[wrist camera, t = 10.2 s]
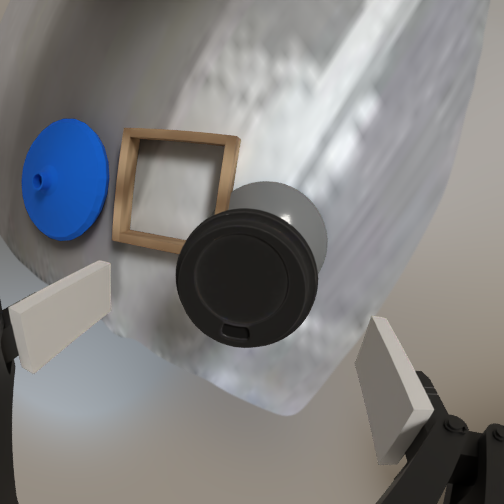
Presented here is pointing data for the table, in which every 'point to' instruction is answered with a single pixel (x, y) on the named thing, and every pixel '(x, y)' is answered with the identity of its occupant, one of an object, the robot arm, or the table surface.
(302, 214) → the grey round plate
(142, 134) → the wooden square frame
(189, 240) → the coffee cup
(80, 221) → the blue spouted lid
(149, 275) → the table surface
